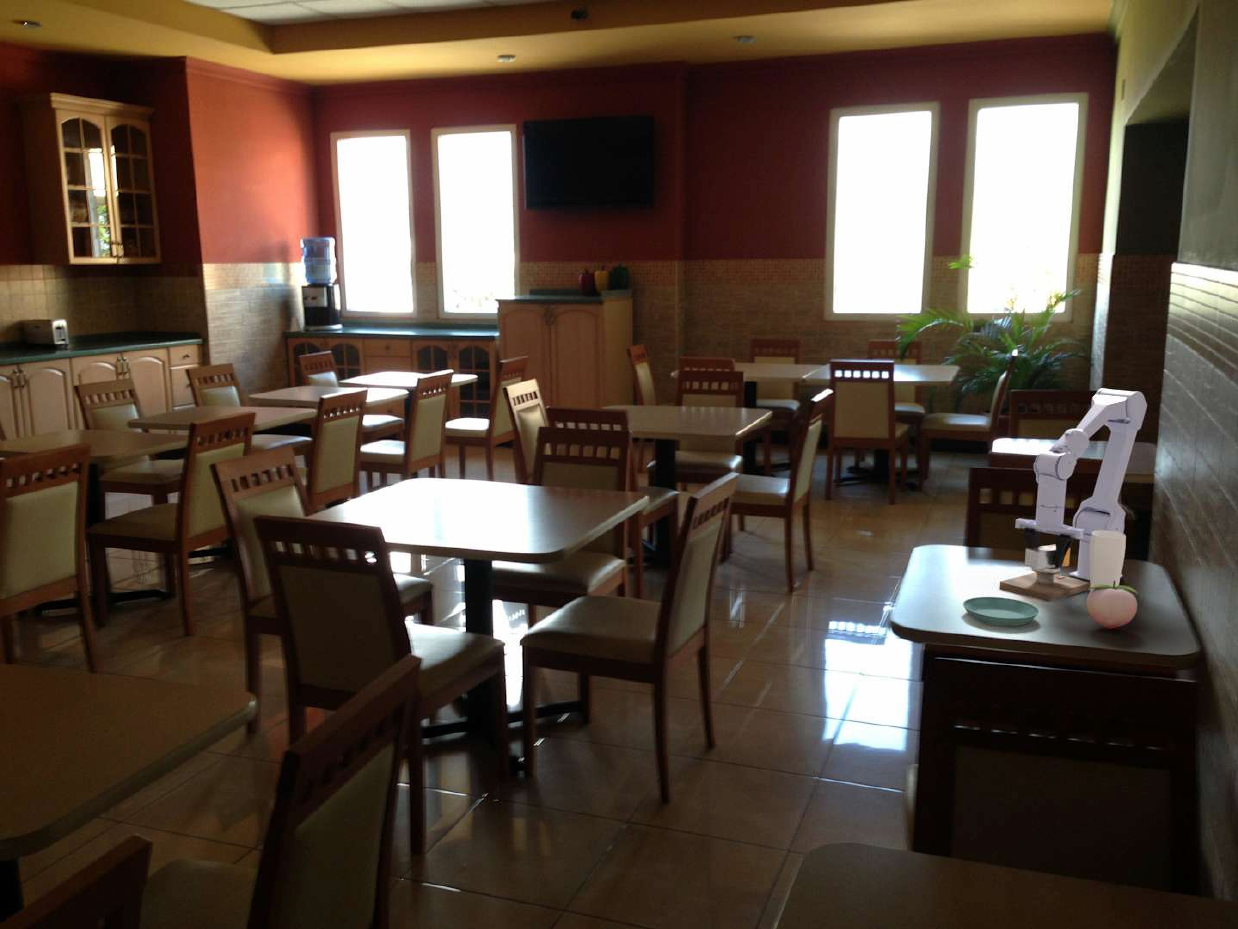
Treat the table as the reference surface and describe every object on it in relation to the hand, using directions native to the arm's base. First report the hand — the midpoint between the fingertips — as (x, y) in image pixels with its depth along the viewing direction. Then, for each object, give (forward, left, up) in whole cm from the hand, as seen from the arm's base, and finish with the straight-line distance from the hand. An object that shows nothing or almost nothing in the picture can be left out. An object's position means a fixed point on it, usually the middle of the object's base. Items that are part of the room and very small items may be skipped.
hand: (1045, 564), depth 232 cm
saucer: (+26, +7, -6) cm, 28 cm away
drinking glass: (-2, +13, -6) cm, 14 cm away
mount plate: (0, 0, -6) cm, 6 cm away
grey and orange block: (0, 0, -2) cm, 2 cm away
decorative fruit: (+14, +24, -6) cm, 28 cm away
